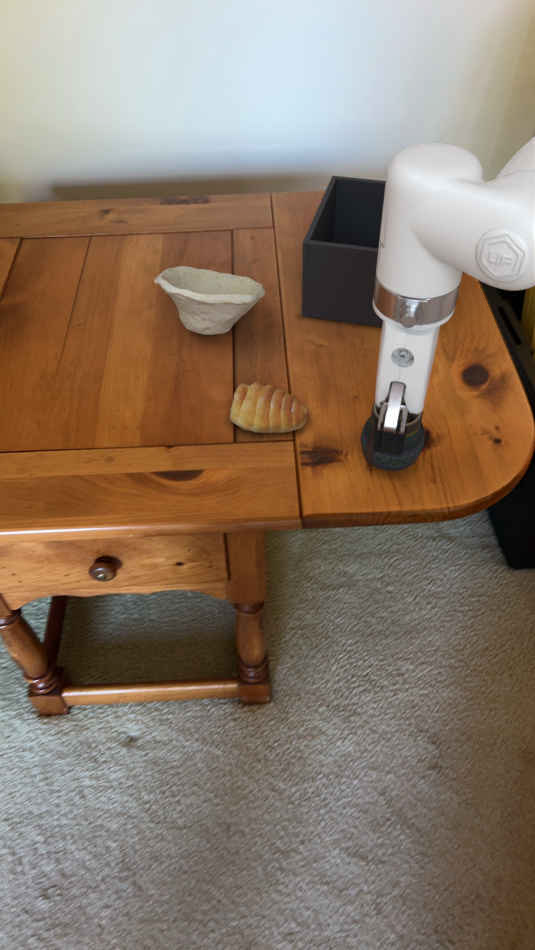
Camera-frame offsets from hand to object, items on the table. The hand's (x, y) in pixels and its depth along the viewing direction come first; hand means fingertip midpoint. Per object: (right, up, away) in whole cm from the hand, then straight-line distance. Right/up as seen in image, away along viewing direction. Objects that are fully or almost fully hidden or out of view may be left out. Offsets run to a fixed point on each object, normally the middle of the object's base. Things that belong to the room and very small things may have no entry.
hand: (393, 425), depth 74 cm
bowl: (-22, +16, +21) cm, 34 cm away
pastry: (-14, +2, +9) cm, 17 cm away
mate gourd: (0, -3, +4) cm, 5 cm away
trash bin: (+1, +23, +26) cm, 34 cm away
